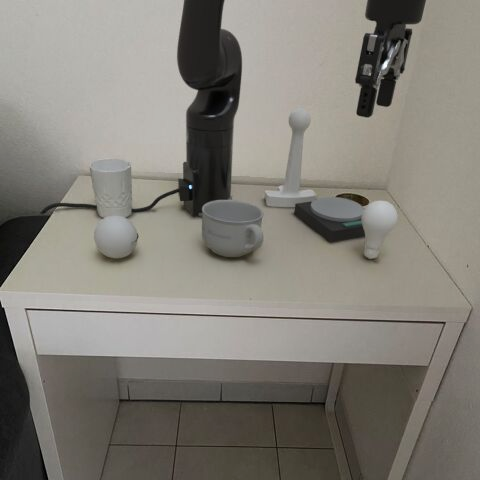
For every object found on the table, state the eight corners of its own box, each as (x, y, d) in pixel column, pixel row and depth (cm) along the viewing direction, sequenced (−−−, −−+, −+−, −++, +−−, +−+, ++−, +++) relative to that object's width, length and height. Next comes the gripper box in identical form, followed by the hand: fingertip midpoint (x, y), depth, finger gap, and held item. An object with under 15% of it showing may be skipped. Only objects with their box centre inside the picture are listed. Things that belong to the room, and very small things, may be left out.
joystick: (267, 207, 108) (276, 110, 96) (260, 194, 114) (268, 101, 102) (316, 206, 109) (330, 111, 98) (307, 193, 115) (319, 102, 104)
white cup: (131, 204, 105) (128, 157, 99) (137, 219, 99) (133, 170, 93) (93, 207, 103) (87, 159, 97) (97, 222, 97) (90, 172, 91)
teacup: (193, 240, 93) (193, 200, 88) (246, 233, 97) (248, 194, 92) (220, 277, 83) (222, 233, 78) (278, 267, 86) (282, 225, 82)
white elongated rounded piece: (131, 268, 83) (127, 228, 79) (89, 263, 84) (83, 223, 80) (149, 242, 91) (147, 205, 87) (111, 237, 92) (107, 200, 88)
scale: (330, 242, 95) (332, 227, 94) (294, 214, 106) (295, 199, 104) (383, 233, 100) (387, 218, 98) (344, 206, 110) (346, 193, 109)
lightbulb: (387, 268, 88) (402, 210, 82) (353, 263, 89) (365, 206, 82) (386, 253, 93) (400, 197, 87) (353, 248, 94) (365, 193, 87)
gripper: (389, -23, 71) (366, 99, 80) (353, -24, 61) (331, 115, 70) (442, -19, 68) (412, 107, 77) (413, -19, 58) (382, 125, 67)
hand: (373, 110), depth 74 cm, fingers open, 8 cm apart
